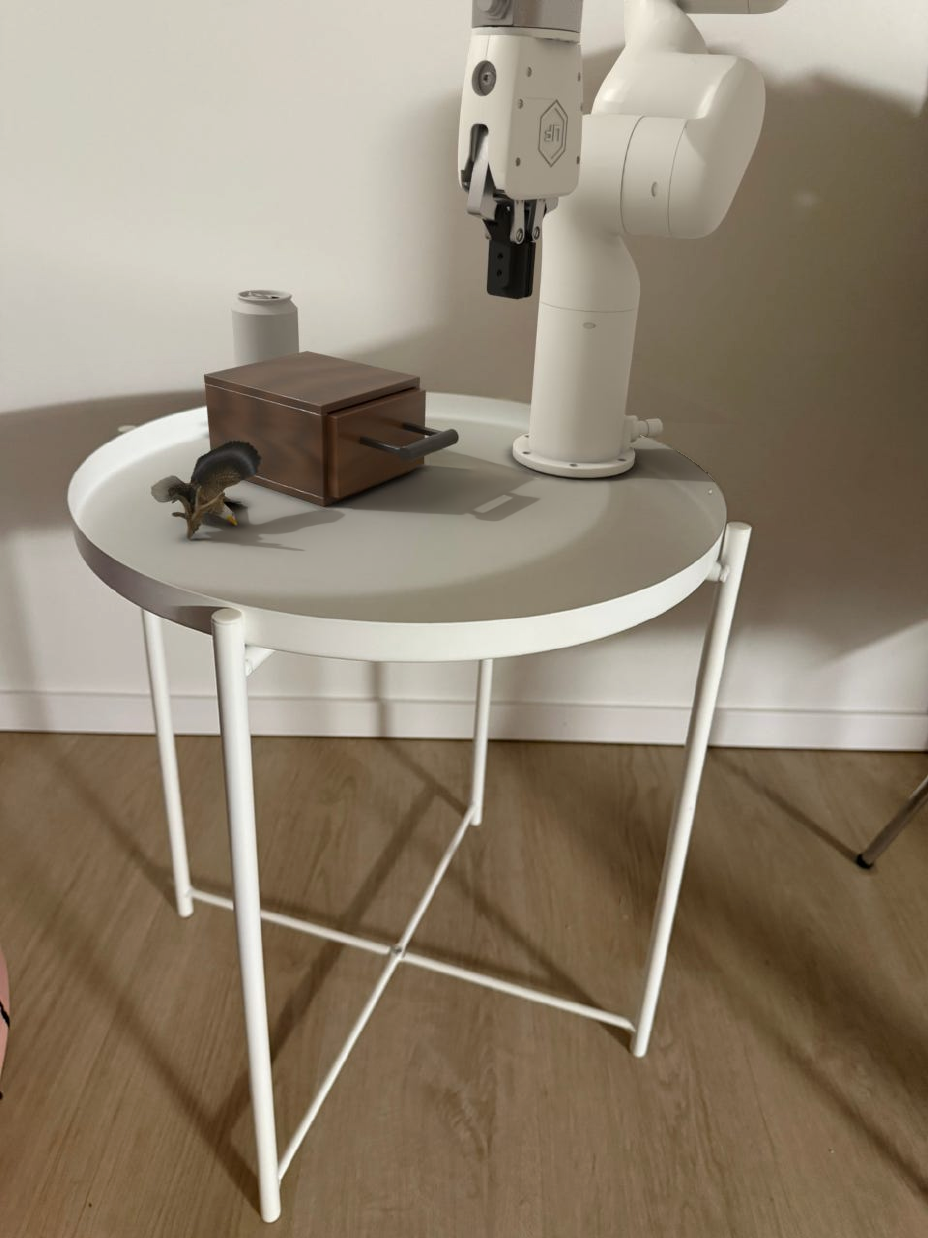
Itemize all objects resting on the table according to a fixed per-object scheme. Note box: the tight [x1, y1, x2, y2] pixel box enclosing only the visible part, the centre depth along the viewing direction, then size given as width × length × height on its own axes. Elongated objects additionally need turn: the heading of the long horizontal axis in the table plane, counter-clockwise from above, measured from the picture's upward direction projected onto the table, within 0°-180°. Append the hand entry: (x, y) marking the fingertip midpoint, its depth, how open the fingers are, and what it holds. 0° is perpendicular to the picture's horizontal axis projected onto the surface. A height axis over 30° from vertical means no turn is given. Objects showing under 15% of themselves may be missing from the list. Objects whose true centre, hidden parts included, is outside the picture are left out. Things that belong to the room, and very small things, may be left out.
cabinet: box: [203, 350, 421, 507], centre depth 91 cm, size 15×14×9 cm
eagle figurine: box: [150, 440, 261, 540], centre depth 79 cm, size 8×7×9 cm
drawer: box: [326, 387, 460, 498], centre depth 89 cm, size 19×12×7 cm, turn 54°
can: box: [231, 289, 300, 368], centre depth 112 cm, size 8×8×12 cm
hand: (509, 295), depth 74 cm, fingers closed
